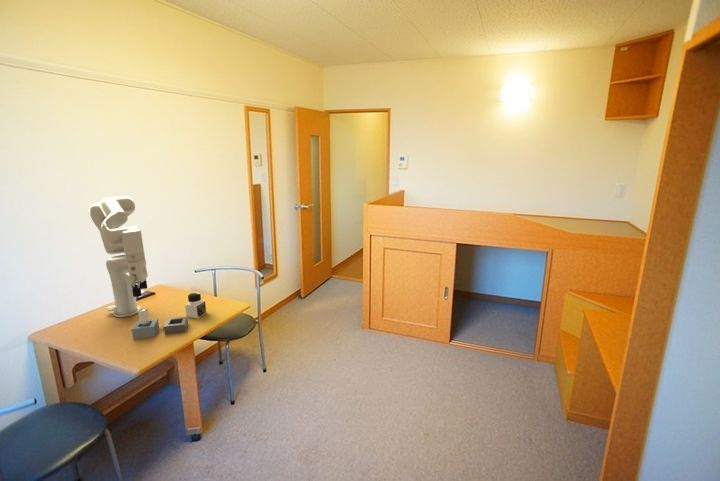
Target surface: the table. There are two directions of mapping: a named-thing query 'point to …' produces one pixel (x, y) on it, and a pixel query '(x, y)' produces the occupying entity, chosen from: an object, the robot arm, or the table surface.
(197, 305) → the medicine bottle
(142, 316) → the steel rod
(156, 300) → the table surface
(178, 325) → the grey square ring
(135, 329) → the socket block
